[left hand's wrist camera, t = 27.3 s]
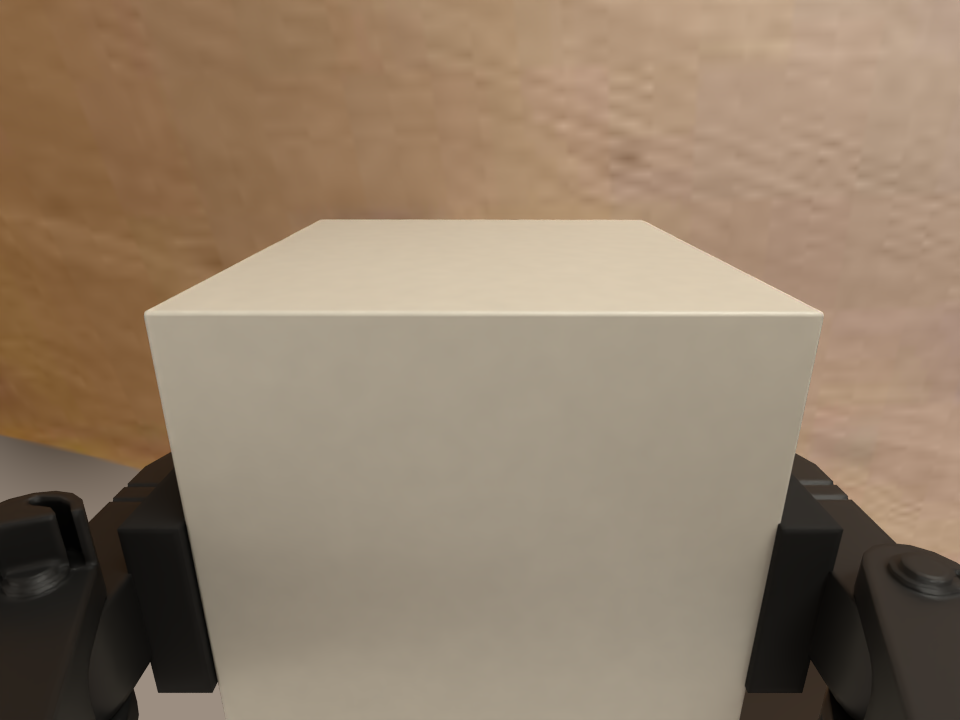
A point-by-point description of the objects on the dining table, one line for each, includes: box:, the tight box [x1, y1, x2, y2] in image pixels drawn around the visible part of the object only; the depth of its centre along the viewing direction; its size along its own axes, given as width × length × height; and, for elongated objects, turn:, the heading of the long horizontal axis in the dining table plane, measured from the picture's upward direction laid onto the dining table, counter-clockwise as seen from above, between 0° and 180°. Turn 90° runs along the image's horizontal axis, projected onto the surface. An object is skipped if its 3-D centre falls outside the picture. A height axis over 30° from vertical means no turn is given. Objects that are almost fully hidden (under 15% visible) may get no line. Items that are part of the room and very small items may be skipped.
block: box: [144, 220, 824, 720], centre depth 12 cm, size 7×8×8 cm
